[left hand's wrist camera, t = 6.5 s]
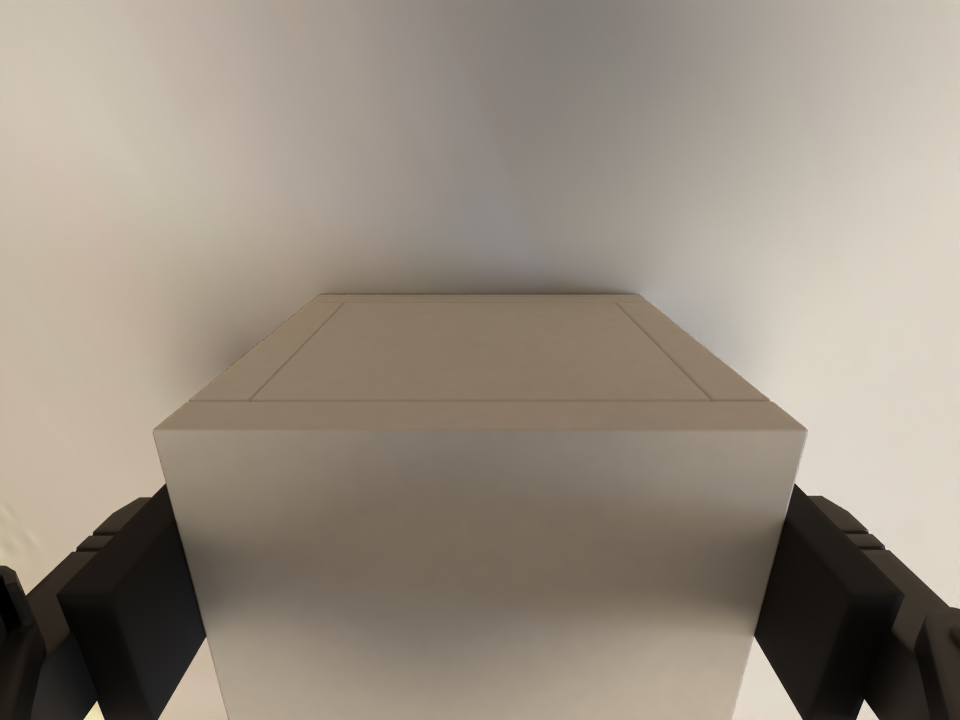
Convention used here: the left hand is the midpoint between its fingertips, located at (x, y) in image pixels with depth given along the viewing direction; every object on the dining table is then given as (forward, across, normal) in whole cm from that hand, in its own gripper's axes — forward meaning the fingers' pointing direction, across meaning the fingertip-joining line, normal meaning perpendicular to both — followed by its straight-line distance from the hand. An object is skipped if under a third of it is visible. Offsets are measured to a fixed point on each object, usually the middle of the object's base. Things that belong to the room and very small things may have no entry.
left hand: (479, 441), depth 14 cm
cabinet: (+4, 0, -6) cm, 7 cm away
